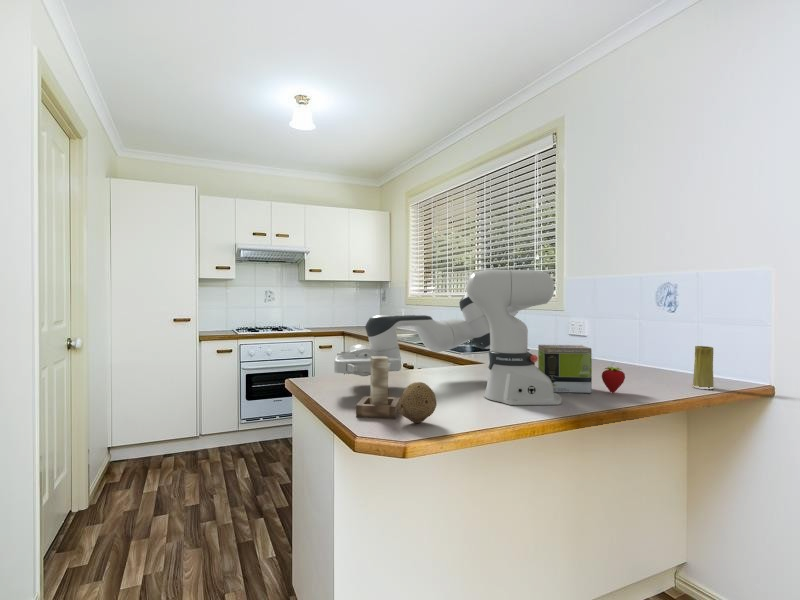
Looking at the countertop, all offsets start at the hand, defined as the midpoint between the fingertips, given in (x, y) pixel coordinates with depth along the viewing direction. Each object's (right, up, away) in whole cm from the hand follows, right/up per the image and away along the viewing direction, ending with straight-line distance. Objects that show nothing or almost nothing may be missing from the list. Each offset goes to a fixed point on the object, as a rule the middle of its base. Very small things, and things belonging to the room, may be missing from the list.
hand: (371, 369), depth 129 cm
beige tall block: (+3, -9, -11) cm, 14 cm away
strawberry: (+77, -10, +17) cm, 80 cm away
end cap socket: (+3, -10, -11) cm, 15 cm away
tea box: (+63, -10, +20) cm, 67 cm away
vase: (+112, -11, +26) cm, 116 cm away
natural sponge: (+13, -10, -20) cm, 26 cm away
